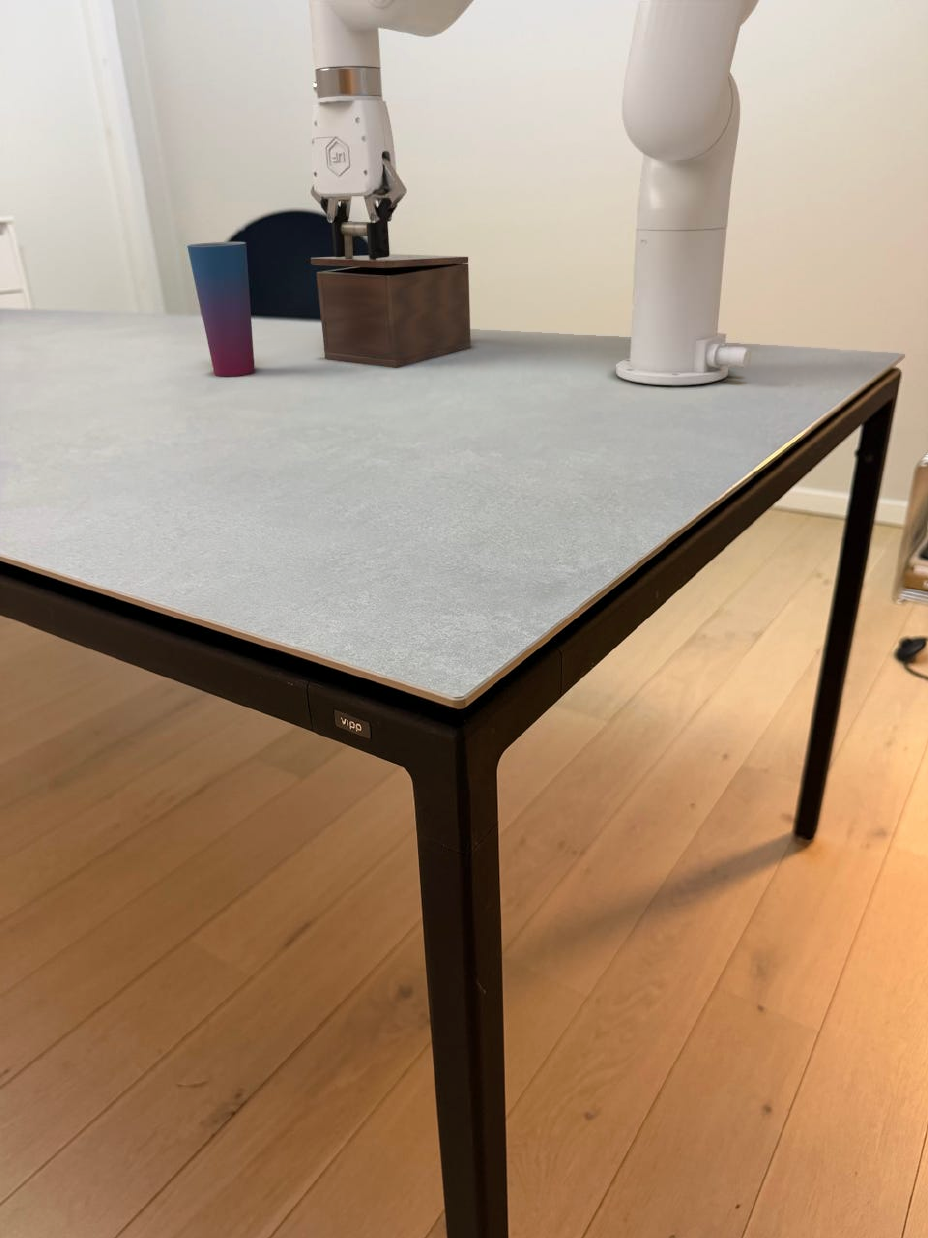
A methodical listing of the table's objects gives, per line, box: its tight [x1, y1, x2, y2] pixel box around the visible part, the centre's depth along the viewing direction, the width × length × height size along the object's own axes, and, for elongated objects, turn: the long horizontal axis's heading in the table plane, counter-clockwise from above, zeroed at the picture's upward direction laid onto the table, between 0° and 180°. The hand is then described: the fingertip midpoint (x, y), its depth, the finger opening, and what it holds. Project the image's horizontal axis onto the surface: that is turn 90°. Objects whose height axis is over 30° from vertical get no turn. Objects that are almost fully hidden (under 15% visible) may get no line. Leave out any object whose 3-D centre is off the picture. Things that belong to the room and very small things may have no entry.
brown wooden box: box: [316, 263, 472, 368], centre depth 122 cm, size 16×13×11 cm
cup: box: [186, 241, 256, 377], centre depth 112 cm, size 7×7×15 cm
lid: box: [310, 221, 469, 268], centre depth 118 cm, size 16×13×5 cm
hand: (361, 255), depth 114 cm, fingers closed on lid, 5 cm apart
